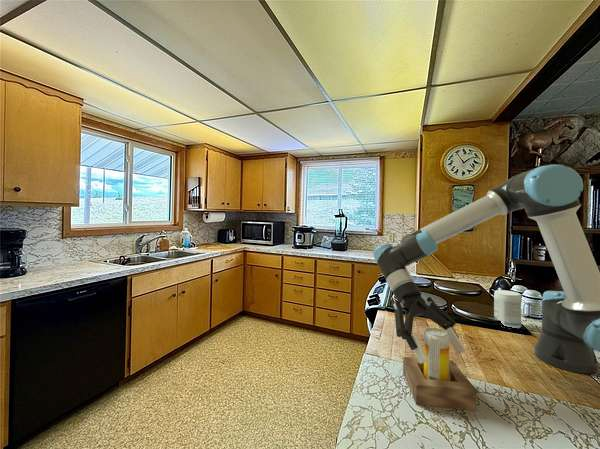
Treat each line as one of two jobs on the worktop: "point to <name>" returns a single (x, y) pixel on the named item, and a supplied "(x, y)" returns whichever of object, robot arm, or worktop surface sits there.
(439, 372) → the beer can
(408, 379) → the walnut socket holder
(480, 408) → the worktop surface
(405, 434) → the worktop surface
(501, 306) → the supplement tub
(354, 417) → the worktop surface
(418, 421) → the worktop surface
